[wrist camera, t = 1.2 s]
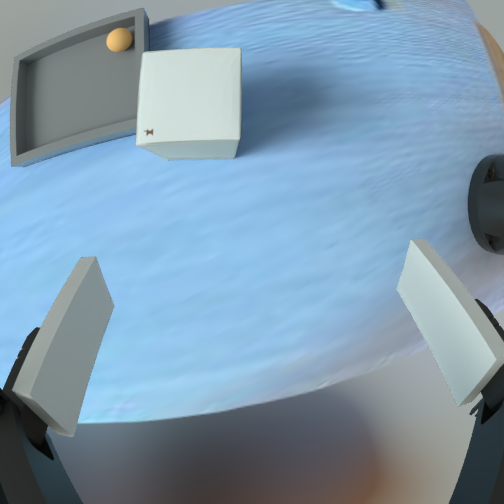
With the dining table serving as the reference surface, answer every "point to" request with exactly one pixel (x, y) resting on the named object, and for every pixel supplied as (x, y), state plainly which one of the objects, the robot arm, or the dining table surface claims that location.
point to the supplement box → (190, 103)
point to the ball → (119, 39)
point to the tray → (76, 90)
